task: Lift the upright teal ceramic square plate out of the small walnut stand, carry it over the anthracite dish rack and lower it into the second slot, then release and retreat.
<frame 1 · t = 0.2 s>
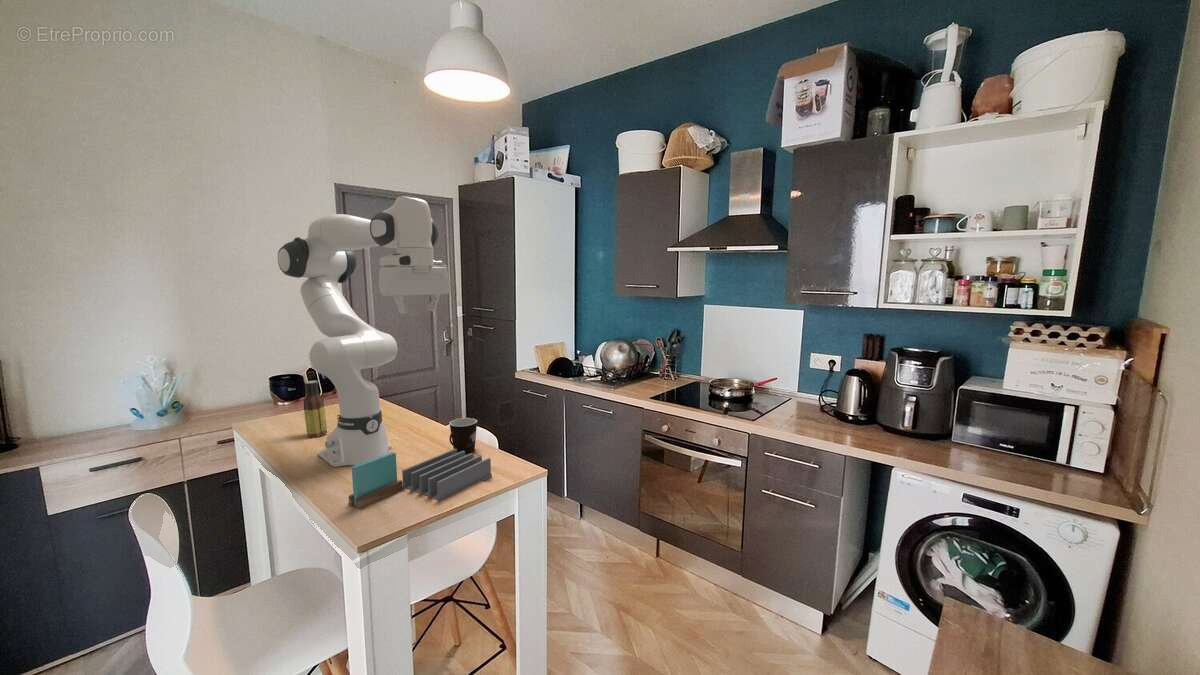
hand: (418, 312, 121), 47 cm above the table, fingers open, 8 cm apart
rack: (448, 483, 125), on the table
plate: (376, 496, 115), point 1 cm above the table, touching stand
sauce bottle: (317, 435, 163), on the table
stand: (377, 499, 116), on the table
coffee mug: (460, 453, 147), on the table
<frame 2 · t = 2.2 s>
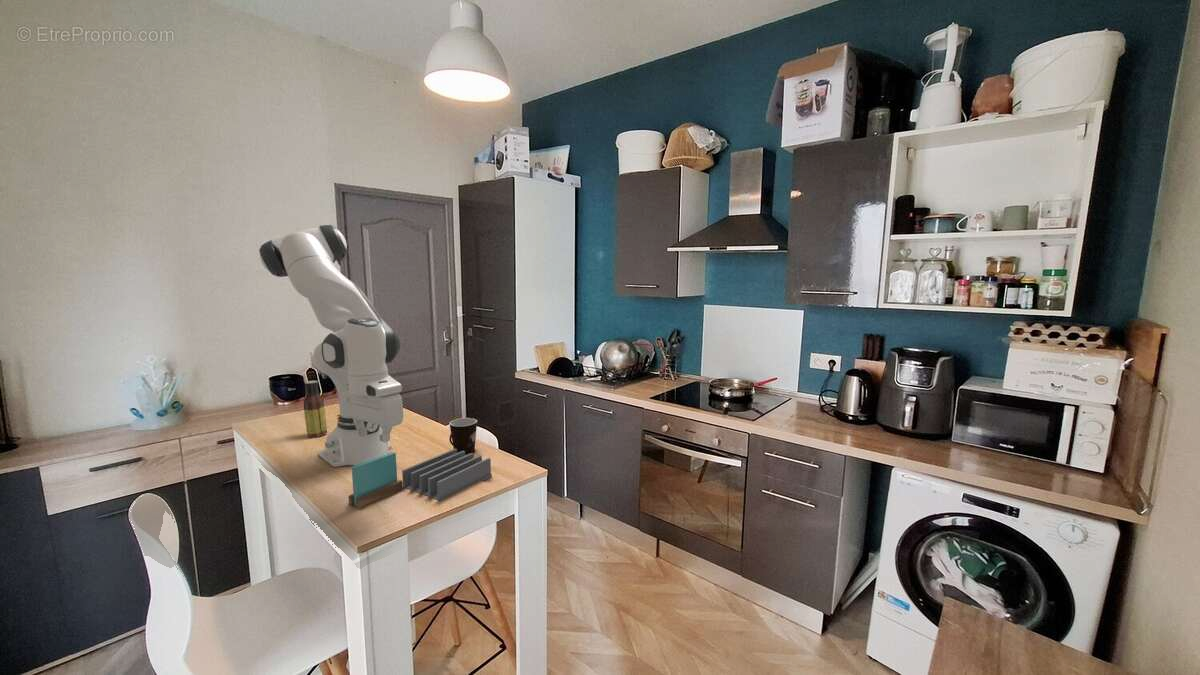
hand: (373, 438, 113), 16 cm above the table, fingers open, 8 cm apart
nothing on the table moved.
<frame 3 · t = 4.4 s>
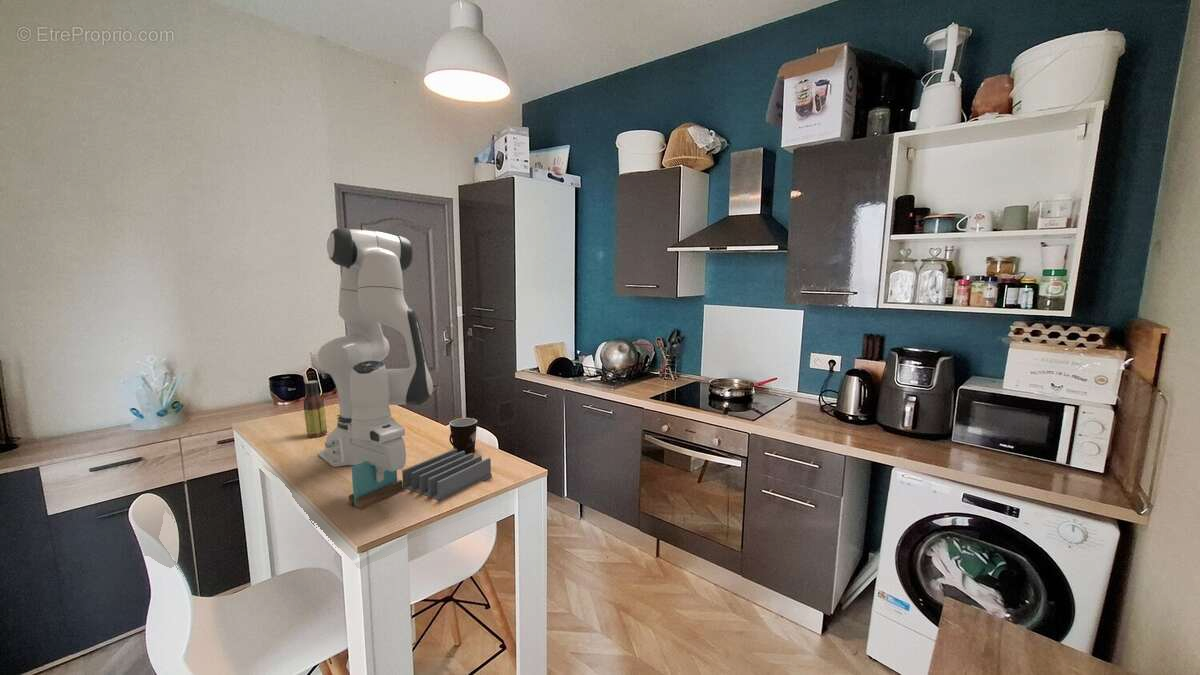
hand: (375, 479, 115), 6 cm above the table, fingers closed on plate, 1 cm apart
plate: (376, 496, 115), point 1 cm above the table, touching gripper, stand
everything else where it was.
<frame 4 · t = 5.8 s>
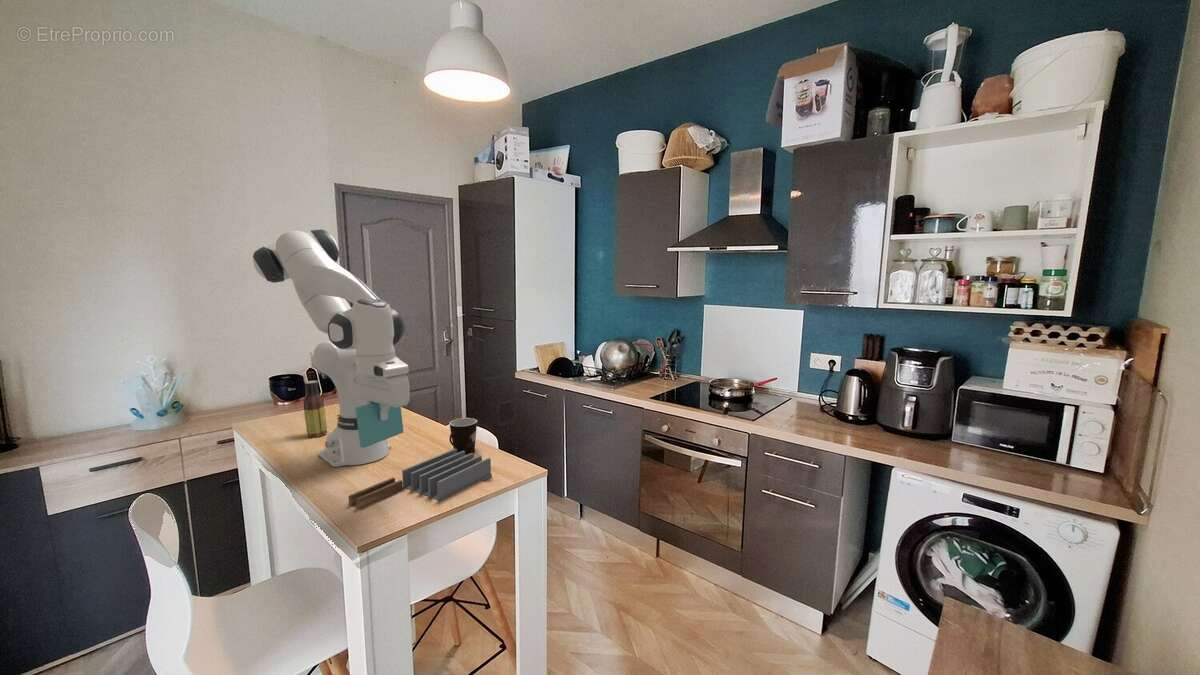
hand: (379, 418, 114), 21 cm above the table, fingers closed on plate
plate: (382, 439, 115), point 15 cm above the table, touching gripper
everything else where it was.
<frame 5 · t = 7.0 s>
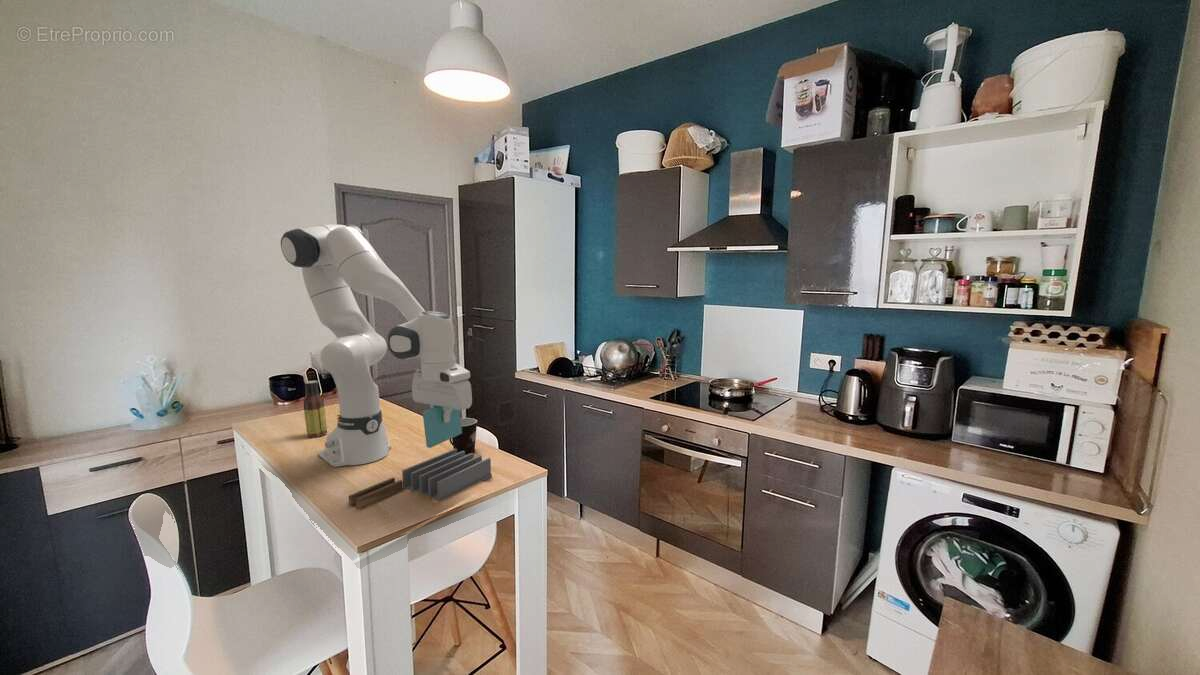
hand: (442, 421, 124), 17 cm above the table, fingers closed on plate
plate: (445, 439, 125), point 12 cm above the table, touching gripper
everything else where it was.
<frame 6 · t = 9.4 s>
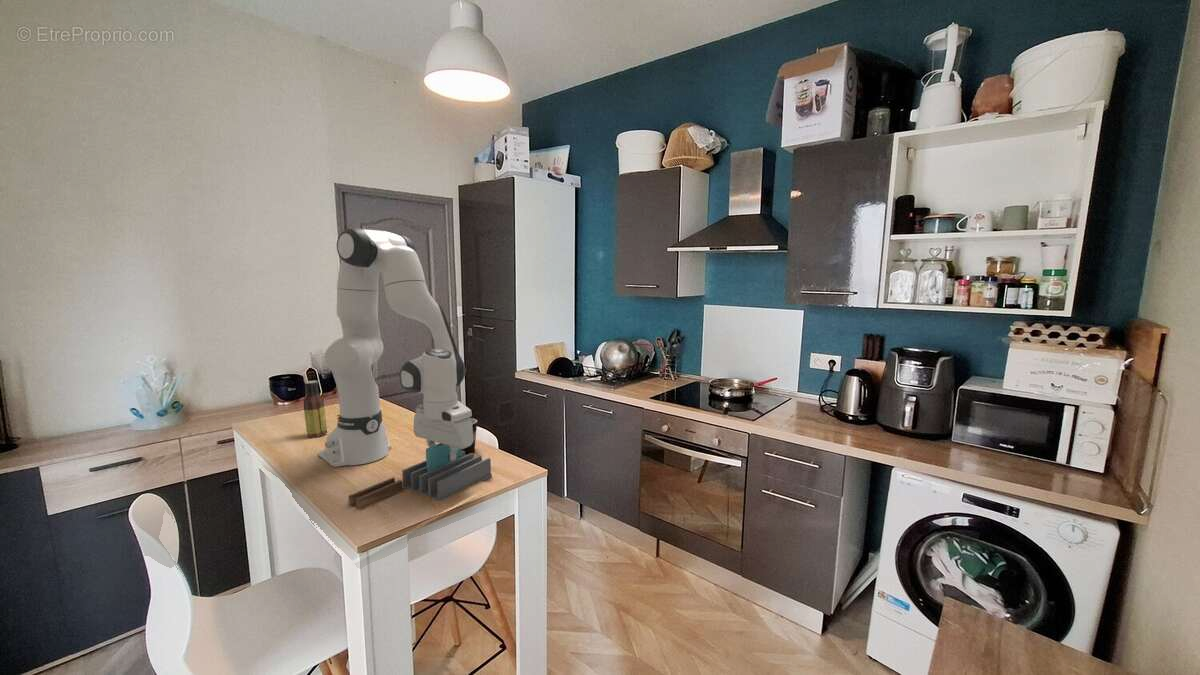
hand: (443, 457, 125), 7 cm above the table, fingers open, 6 cm apart
plate: (445, 477, 126), point 1 cm above the table, touching rack
everything else where it was.
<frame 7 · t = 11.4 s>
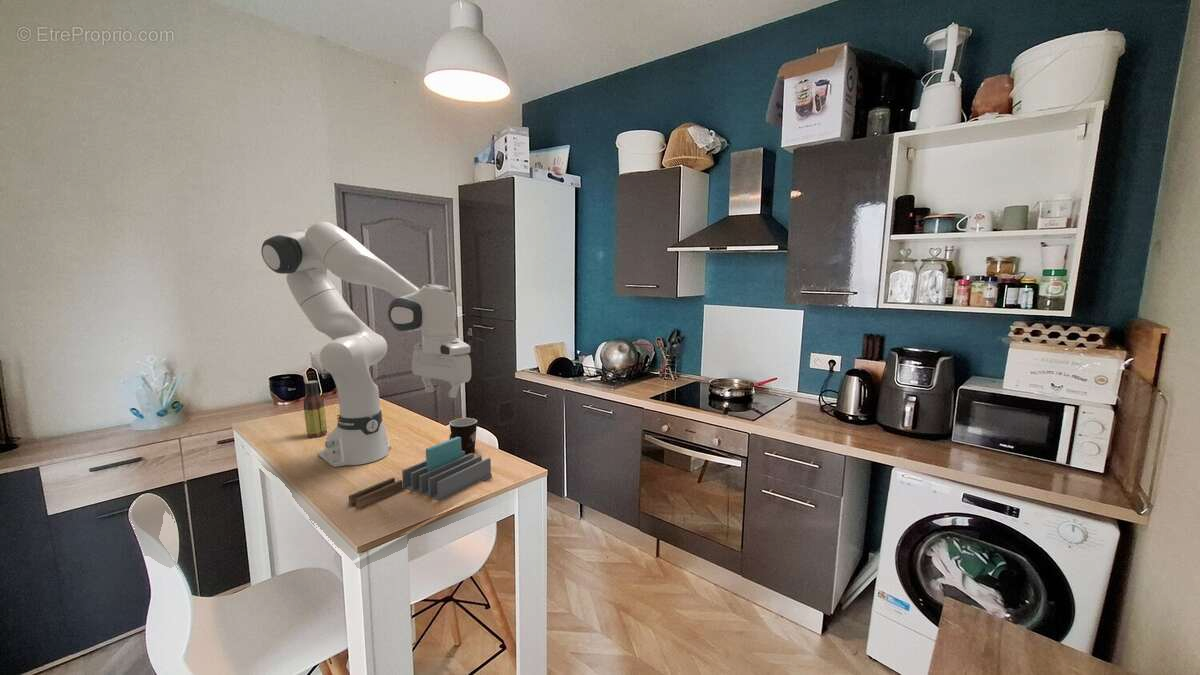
hand: (440, 394, 124), 24 cm above the table, fingers open, 8 cm apart
nothing on the table moved.
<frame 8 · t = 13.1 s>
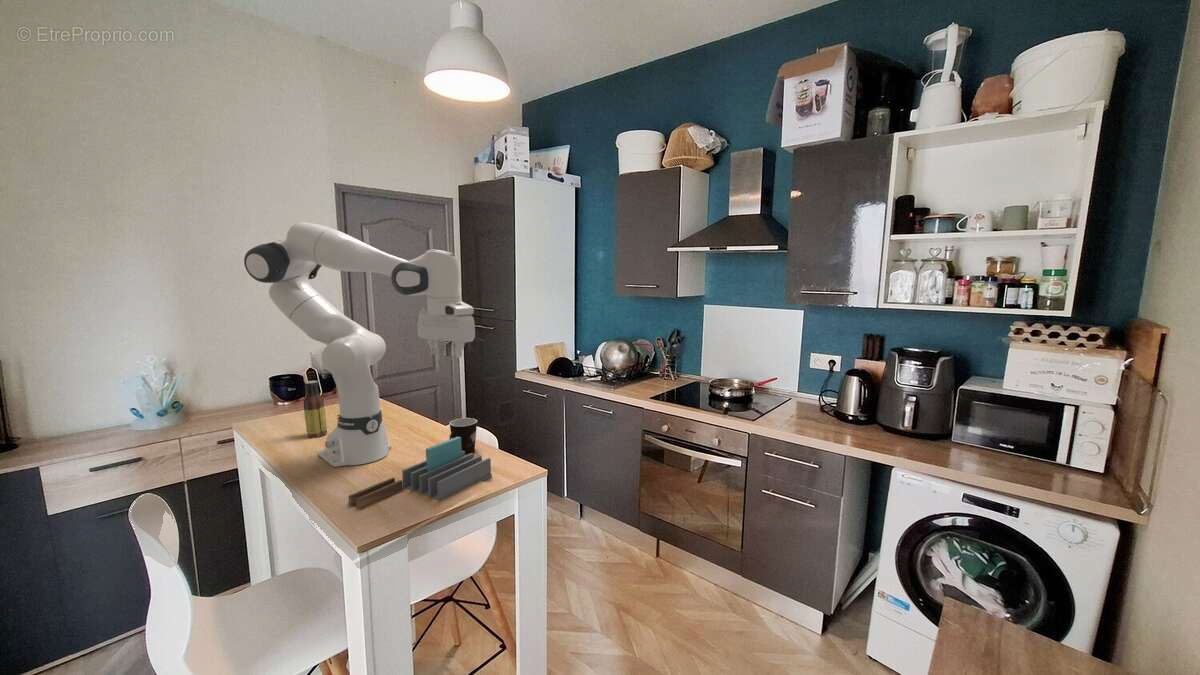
hand: (446, 355, 130), 34 cm above the table, fingers open, 8 cm apart
nothing on the table moved.
at the end: plate inside the target area on the rack (0.6 cm from its centre), point 1.0 cm above the rack's base; plate tilted 0°; the gripper is holding nothing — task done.
